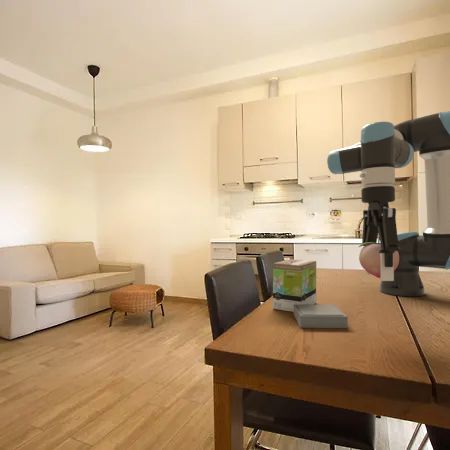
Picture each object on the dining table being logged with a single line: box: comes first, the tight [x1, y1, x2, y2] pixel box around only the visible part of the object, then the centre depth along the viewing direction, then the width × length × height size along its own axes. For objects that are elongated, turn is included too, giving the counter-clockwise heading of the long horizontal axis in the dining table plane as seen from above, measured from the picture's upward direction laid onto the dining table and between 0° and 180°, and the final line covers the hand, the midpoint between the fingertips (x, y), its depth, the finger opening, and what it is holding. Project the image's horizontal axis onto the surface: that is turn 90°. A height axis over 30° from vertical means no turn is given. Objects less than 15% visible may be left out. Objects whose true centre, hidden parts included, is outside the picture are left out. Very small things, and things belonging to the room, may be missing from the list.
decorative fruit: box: [358, 237, 400, 279], centre depth 79 cm, size 9×8×10 cm
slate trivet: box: [293, 304, 349, 329], centre depth 88 cm, size 12×12×3 cm
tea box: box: [272, 259, 317, 313], centre depth 104 cm, size 15×10×15 cm
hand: (379, 277), depth 79 cm, fingers closed on decorative fruit, 8 cm apart
